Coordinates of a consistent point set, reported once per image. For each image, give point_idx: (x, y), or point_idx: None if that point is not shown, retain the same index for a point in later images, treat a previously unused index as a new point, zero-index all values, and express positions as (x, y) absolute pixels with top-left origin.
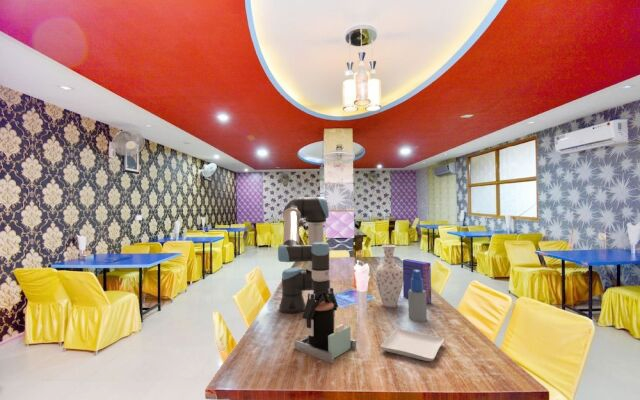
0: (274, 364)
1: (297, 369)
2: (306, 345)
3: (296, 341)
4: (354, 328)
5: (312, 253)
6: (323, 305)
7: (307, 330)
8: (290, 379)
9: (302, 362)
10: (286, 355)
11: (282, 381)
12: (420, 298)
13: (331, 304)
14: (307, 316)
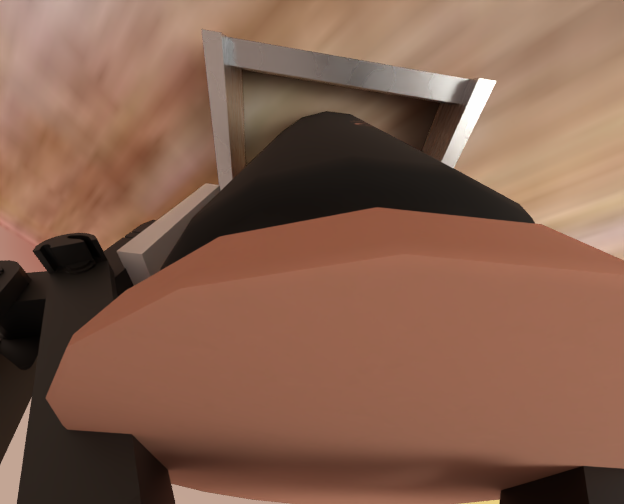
0: (27, 73)
1: (119, 203)
2: (218, 166)
3: (206, 59)
4: (608, 210)
5: None
6: (320, 483)
7: (191, 195)
8: (65, 221)
9: (167, 188)
10: (135, 59)
11: (30, 207)
12: None
13: (413, 502)
14: (3, 354)
